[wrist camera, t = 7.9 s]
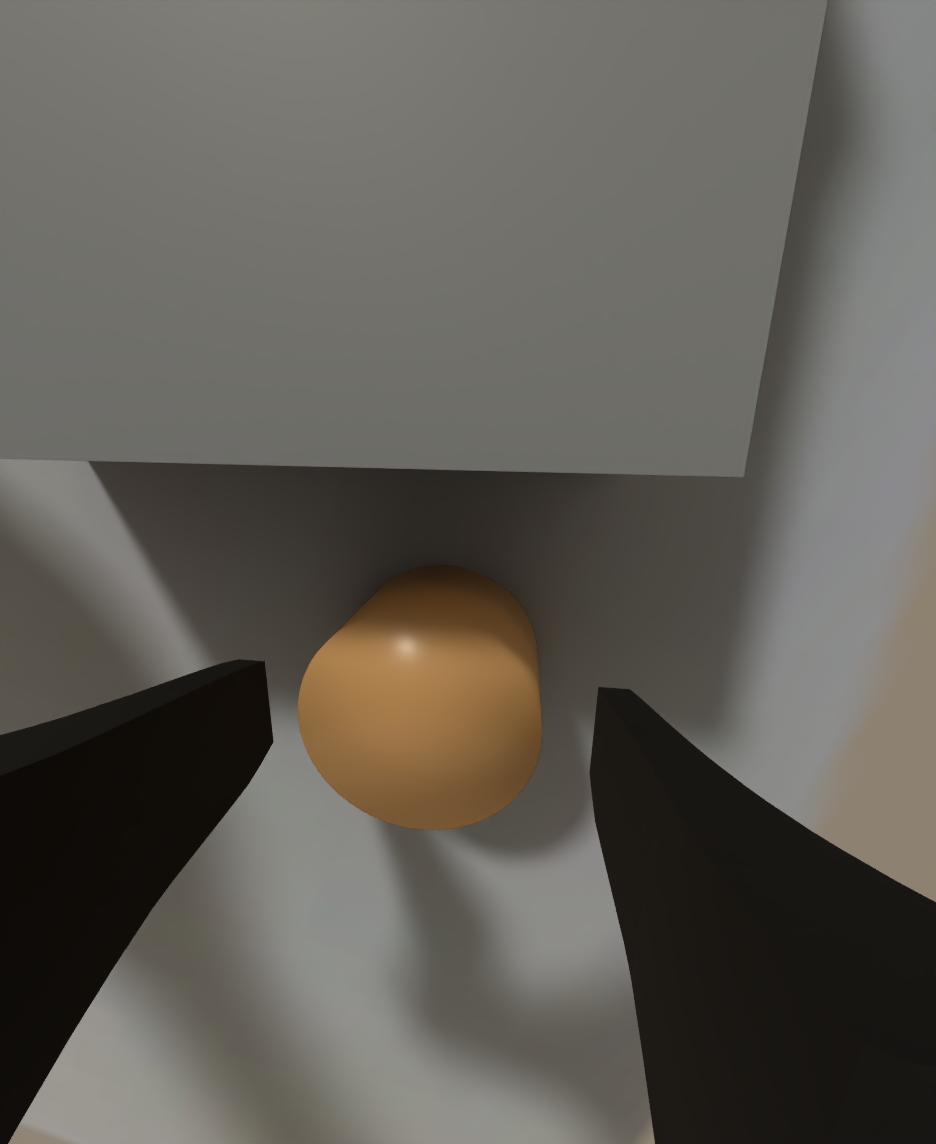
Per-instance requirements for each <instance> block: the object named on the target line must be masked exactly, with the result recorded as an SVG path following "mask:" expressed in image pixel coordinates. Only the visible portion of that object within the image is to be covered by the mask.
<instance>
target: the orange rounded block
mask: <svg viewBox="0 0 936 1144" xmlns="http://www.w3.org/2000/svg"><path fill="white" fill-rule="evenodd" d="M298 720H299V726H300V732H301V735H302V739H303V742H304V745H305V748H306V750H307V752H308V754H309V756H310V759H311V760H312V762H313V763H314V765H315V767H316V768H317V770H318V772H319V773H320V774H321V775H322V777H323V778H324V779H325V780H326V782H327V783H328V784H329V785H330V786H331V787H332V788H333V789H334V790H335V791H336V792H337V793H338V794H339V795H341V796H342V797H343V798H344V799H345V800H347V801H348V802H349V803H351V804H352V805H354V806H355V807H357V808H358V809H360V810H361V811H363V812H365V813H367V814H369V815H371V816H373V817H375V818H378V819H380V820H383V821H385V822H388V823H391V824H395V825H398V826H402V827H407V828H413V829H421V830H445V829H453V828H459V827H464V826H467V825H470V824H474V823H477V822H479V821H482V820H484V819H486V818H488V817H490V816H492V815H494V814H495V813H497V812H499V811H500V810H502V809H503V808H504V807H506V806H507V805H508V804H509V803H511V802H512V801H513V800H514V799H515V798H516V797H517V796H518V794H519V793H520V792H521V791H522V790H523V788H524V787H525V786H526V784H527V783H528V781H529V780H530V778H531V776H532V774H533V772H534V770H535V768H536V765H537V761H538V758H539V755H540V750H541V743H542V718H541V701H540V684H539V667H538V651H537V643H536V637H535V634H534V631H533V627H532V625H531V623H530V621H529V618H528V616H527V614H526V613H525V611H524V610H523V608H522V607H521V605H520V604H519V603H518V602H517V600H516V599H515V598H514V597H513V596H512V595H511V594H510V593H509V592H508V591H507V590H506V589H505V588H504V587H502V586H501V585H499V584H498V583H496V582H495V581H494V580H492V579H490V578H488V577H486V576H484V575H482V574H480V573H477V572H475V571H472V570H469V569H465V568H461V567H456V566H447V565H435V566H426V567H420V568H416V569H413V570H409V571H407V572H405V573H402V574H400V575H398V576H396V577H395V578H393V579H391V580H390V581H388V582H387V583H386V584H385V585H383V586H382V587H381V588H380V589H379V590H378V591H377V592H376V593H375V594H374V595H373V596H372V597H371V598H370V599H369V600H368V601H367V602H366V603H365V604H364V605H363V606H362V607H361V608H360V609H359V610H358V611H357V612H356V613H355V614H354V615H353V616H352V617H351V618H350V619H349V620H348V621H347V622H346V623H345V624H344V625H343V626H342V627H341V628H340V629H339V630H338V631H337V632H336V633H335V634H334V635H333V636H332V637H331V638H330V639H329V640H328V641H327V642H326V643H325V644H324V645H323V646H322V647H321V649H320V650H319V651H318V652H317V653H316V655H315V656H314V658H313V659H312V661H311V662H310V664H309V666H308V668H307V670H306V672H305V675H304V677H303V680H302V684H301V687H300V691H299V699H298Z"/></svg>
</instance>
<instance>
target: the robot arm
mask: <svg viewBox="0 0 936 1144" xmlns="http://www.w3.org/2000/svg"><path fill="white" fill-rule="evenodd" d="M272 744H273V733H272V724H271V715H270V706H269V697H268V688H267V679H266V670H265V661H253V660H240V659H239V660H234V661H229V662H225V663H222V664H218V665H215V666H212V667H209V668H206V669H203V670H200V671H197V672H194V673H191V674H188V675H185V676H182V677H180V678H177V679H174V680H171V681H168V682H165V683H163V684H160V685H157V686H154V687H151V688H149V689H146V690H143V691H140V692H137V693H135V694H132V695H129V696H126V697H123V698H120V699H117V700H114V701H111V702H108V703H105V704H102V705H99V706H96V707H93V708H90V709H87V710H84V711H81V712H78V713H75V714H72V715H69V716H66V717H62V718H59V719H56V720H53V721H49V722H46V723H43V724H39V725H36V726H32V727H29V728H25V729H21V730H18V731H14V732H10V733H7V734H3V735H0V1144H8V1143H9V1141H10V1139H11V1137H12V1136H13V1134H14V1132H15V1130H16V1129H17V1127H18V1125H19V1123H20V1122H21V1120H22V1118H23V1117H24V1115H25V1113H26V1112H27V1110H28V1108H29V1106H30V1105H31V1103H32V1101H33V1100H34V1098H35V1096H36V1094H37V1093H38V1091H39V1089H40V1088H41V1086H42V1084H43V1082H44V1081H45V1079H46V1077H47V1076H48V1074H49V1072H50V1071H51V1069H52V1067H53V1065H54V1064H55V1062H56V1060H57V1059H58V1057H59V1055H60V1053H61V1052H62V1050H63V1048H64V1047H65V1045H66V1043H67V1041H68V1040H69V1038H70V1037H71V1035H72V1033H73V1032H74V1030H75V1028H76V1027H77V1025H78V1024H79V1022H80V1020H81V1019H82V1017H83V1016H84V1014H85V1012H86V1011H87V1009H88V1008H89V1006H90V1004H91V1003H92V1001H93V1000H94V998H95V996H96V995H97V993H98V992H99V990H100V988H101V987H102V985H103V984H104V982H105V980H106V979H107V977H108V975H109V974H110V972H111V971H112V969H113V967H114V966H115V964H116V963H117V961H118V960H119V958H120V957H121V955H122V954H123V952H124V951H125V949H126V948H127V946H128V945H129V943H130V942H131V940H132V939H133V937H134V936H135V934H136V933H137V931H138V930H139V928H140V926H141V925H142V923H143V922H144V920H145V919H146V917H147V916H148V914H149V913H150V911H151V910H152V908H153V907H154V906H155V904H156V903H157V902H158V900H159V899H160V897H161V896H162V895H163V893H164V892H165V891H166V889H167V888H168V887H169V885H170V884H171V883H172V881H173V880H174V879H175V877H176V876H177V875H178V874H179V872H180V871H181V870H182V869H183V867H184V866H185V865H186V864H187V862H188V861H189V860H190V858H191V857H192V856H193V855H194V853H195V852H196V851H197V850H198V848H199V847H200V846H201V845H202V843H203V842H204V841H205V839H206V838H207V837H208V836H209V834H210V833H211V832H212V831H213V829H214V828H215V827H216V826H217V824H218V823H219V822H220V820H221V819H222V818H223V817H224V815H225V814H226V813H227V812H228V810H229V809H230V808H231V806H232V805H233V804H234V802H235V801H236V800H237V799H238V797H239V796H240V795H241V793H242V792H243V791H244V789H245V788H246V787H247V785H248V784H249V783H250V781H251V779H252V778H253V776H254V775H255V773H256V771H257V770H258V768H259V766H260V765H261V763H262V761H263V760H264V758H265V756H266V754H267V752H268V751H269V749H270V747H271V745H272ZM590 781H591V790H592V799H593V808H594V816H595V822H596V827H597V831H598V836H599V840H600V844H601V848H602V853H603V857H604V861H605V866H606V870H607V874H608V878H609V882H610V886H611V891H612V895H613V899H614V903H615V907H616V912H617V916H618V920H619V924H620V928H621V932H622V937H623V941H624V945H625V950H626V955H627V960H628V965H629V970H630V975H631V981H632V987H633V994H634V1000H635V1007H636V1014H637V1020H638V1027H639V1033H640V1040H641V1047H642V1053H643V1060H644V1068H645V1075H646V1082H647V1089H648V1096H649V1103H650V1110H651V1117H652V1125H653V1132H654V1139H655V1144H936V902H934V901H932V900H930V899H928V898H927V897H925V896H923V895H921V894H919V893H917V892H915V891H914V890H912V889H910V888H908V887H906V886H904V885H902V884H901V883H899V882H897V881H895V880H893V879H892V878H890V877H888V876H887V875H885V874H883V873H881V872H879V871H878V870H876V869H874V868H872V867H871V866H869V865H867V864H866V863H864V862H862V861H861V860H859V859H857V858H855V857H854V856H852V855H850V854H848V853H847V852H845V851H843V850H842V849H840V848H838V847H836V846H835V845H833V844H832V843H830V842H828V841H827V840H825V839H824V838H822V837H820V836H819V835H817V834H815V833H814V832H812V831H811V830H809V829H808V828H806V827H805V826H803V825H802V824H800V823H799V822H797V821H796V820H794V819H793V818H791V817H789V816H788V815H786V814H785V813H783V812H782V811H780V810H779V809H777V808H776V807H774V806H773V805H771V804H770V803H768V802H767V801H765V800H764V799H763V798H761V797H760V796H758V795H757V794H756V793H754V792H753V791H751V790H750V789H749V788H747V787H746V786H745V785H743V784H742V783H741V782H739V781H738V780H737V779H735V778H734V777H733V776H732V775H730V774H729V773H728V772H726V771H725V770H724V769H722V768H721V767H720V766H719V765H717V764H716V763H715V762H713V761H712V760H711V759H710V758H708V757H707V756H706V755H705V754H704V753H702V752H701V751H700V750H699V749H697V748H696V747H695V746H694V745H693V744H692V743H690V742H689V741H688V740H687V739H686V738H685V737H683V736H682V735H681V734H680V733H679V732H678V731H676V730H675V729H674V728H673V727H672V726H671V725H670V724H669V723H667V722H666V721H665V720H664V719H663V718H662V717H661V716H660V715H659V714H657V713H656V712H655V711H654V710H653V709H652V708H651V707H650V706H649V705H647V704H646V703H645V702H644V701H643V700H642V699H641V698H640V697H638V696H637V695H636V694H635V693H634V692H632V691H631V690H630V689H618V688H605V687H599V688H598V697H597V707H596V717H595V726H594V736H593V745H592V755H591V764H590Z"/></svg>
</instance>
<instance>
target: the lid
mask: <svg viewBox="0 0 936 1144" xmlns="http://www.w3.org/2000/svg"><path fill="white" fill-rule="evenodd" d="M827 2H828V0H0V459H33V460H73V461H113V462H153V463H193V464H233V465H273V466H313V467H353V468H393V469H433V470H473V471H513V472H553V473H593V474H633V475H673V476H713V477H744V472H745V467H746V461H747V455H748V450H749V444H750V438H751V433H752V427H753V421H754V416H755V410H756V404H757V399H758V393H759V387H760V382H761V376H762V370H763V365H764V359H765V353H766V348H767V342H768V336H769V331H770V325H771V319H772V314H773V308H774V302H775V297H776V291H777V285H778V280H779V274H780V268H781V263H782V257H783V251H784V246H785V240H786V234H787V229H788V223H789V217H790V212H791V206H792V200H793V195H794V189H795V183H796V178H797V172H798V166H799V161H800V155H801V149H802V144H803V138H804V132H805V127H806V121H807V115H808V110H809V104H810V98H811V93H812V87H813V81H814V76H815V70H816V64H817V59H818V53H819V47H820V42H821V36H822V30H823V25H824V19H825V13H826V8H827Z"/></svg>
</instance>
